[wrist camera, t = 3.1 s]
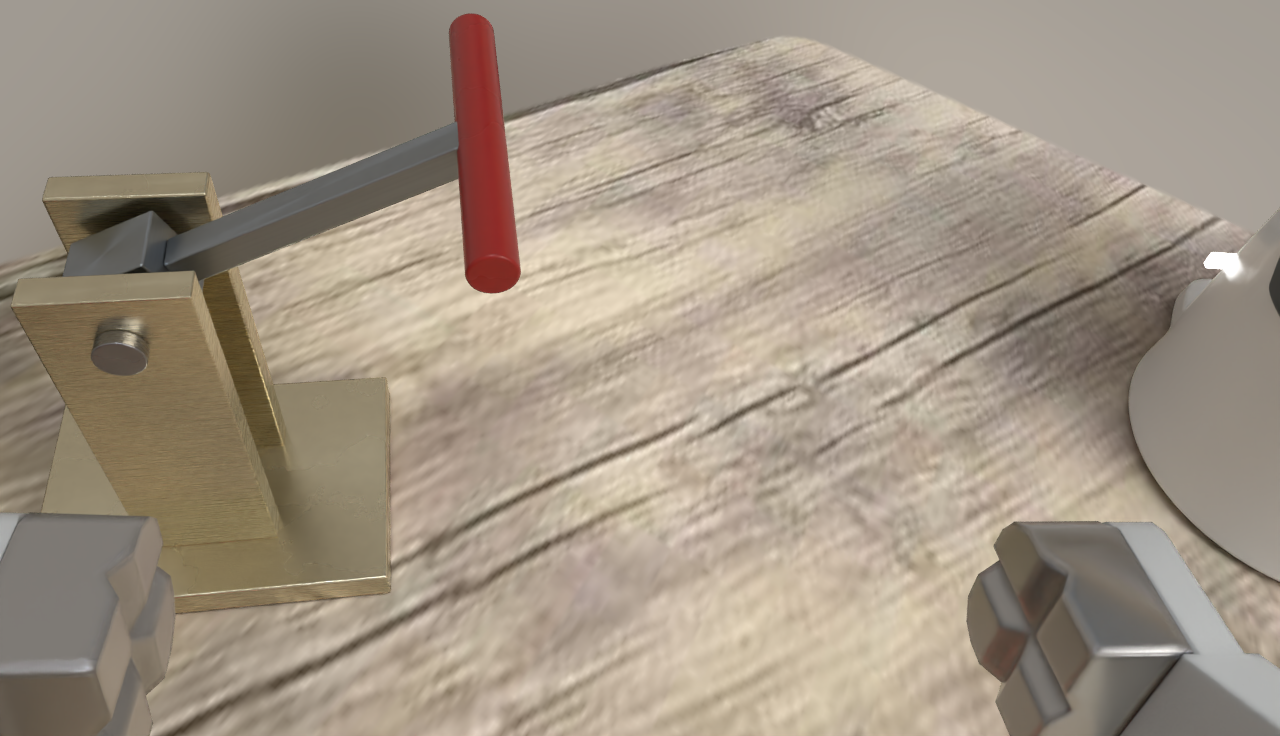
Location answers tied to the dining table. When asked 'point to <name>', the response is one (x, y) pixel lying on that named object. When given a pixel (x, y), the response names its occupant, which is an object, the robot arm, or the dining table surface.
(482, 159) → the lever
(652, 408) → the dining table surface
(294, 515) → the bracket
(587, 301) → the dining table surface
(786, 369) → the dining table surface
